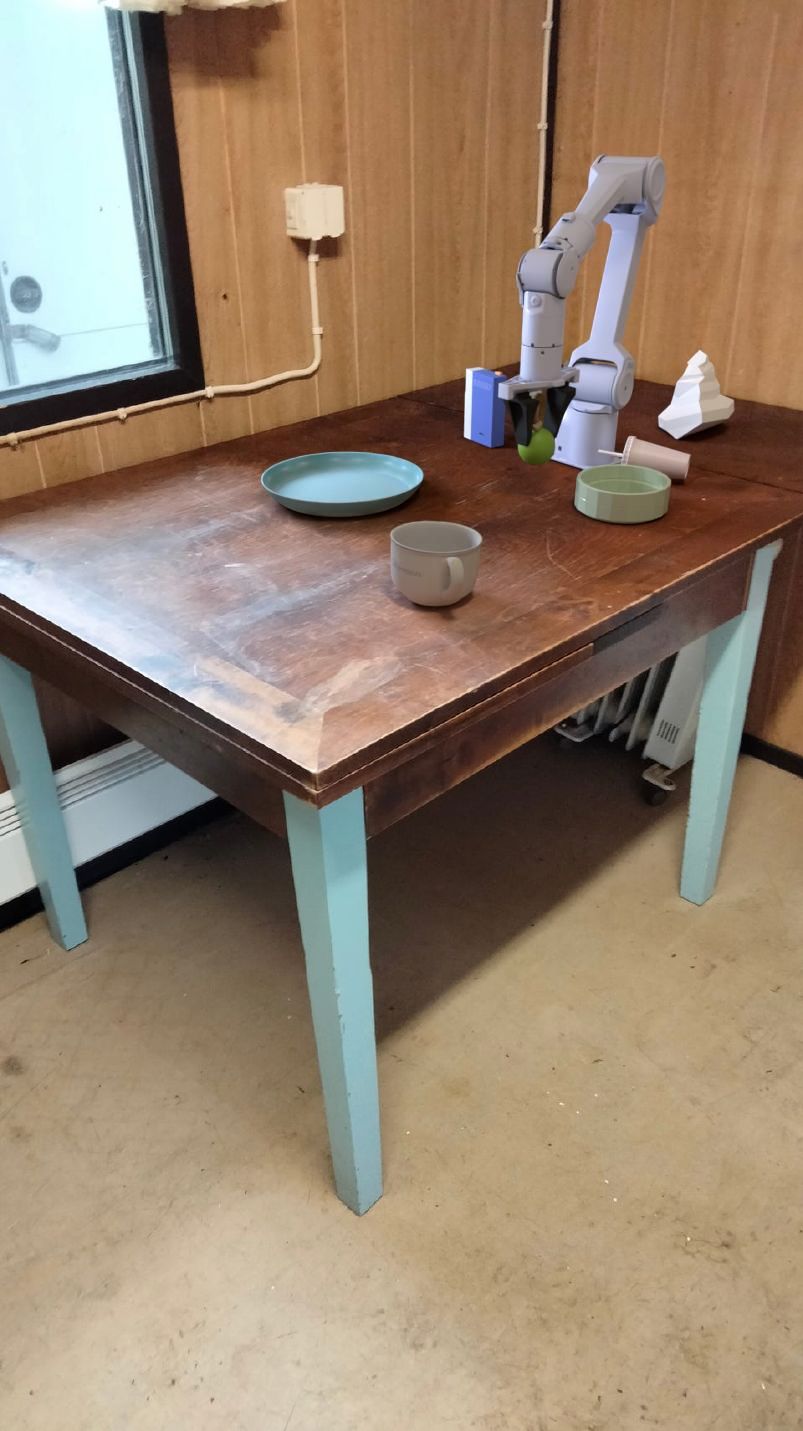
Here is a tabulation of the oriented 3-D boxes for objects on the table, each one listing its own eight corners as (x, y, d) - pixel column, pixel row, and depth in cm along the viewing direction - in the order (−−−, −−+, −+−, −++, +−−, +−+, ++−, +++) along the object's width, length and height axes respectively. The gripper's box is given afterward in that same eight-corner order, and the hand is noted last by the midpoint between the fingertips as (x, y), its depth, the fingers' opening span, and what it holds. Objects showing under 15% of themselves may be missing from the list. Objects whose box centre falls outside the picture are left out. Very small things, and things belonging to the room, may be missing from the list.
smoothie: (694, 444, 159) (605, 429, 163) (690, 446, 154) (598, 431, 158) (684, 486, 162) (597, 470, 166) (680, 489, 156) (590, 473, 160)
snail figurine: (559, 457, 154) (563, 375, 147) (550, 471, 149) (554, 387, 142) (523, 454, 155) (526, 373, 149) (513, 468, 150) (515, 385, 144)
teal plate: (456, 493, 156) (456, 472, 154) (341, 538, 141) (340, 515, 139) (344, 460, 170) (344, 440, 168) (229, 498, 155) (227, 476, 153)
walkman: (503, 445, 176) (507, 373, 170) (490, 448, 175) (493, 375, 169) (476, 434, 182) (478, 364, 176) (463, 436, 181) (465, 366, 174)
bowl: (555, 507, 151) (557, 477, 148) (614, 487, 158) (617, 458, 155) (626, 532, 142) (630, 501, 140) (685, 510, 149) (690, 480, 147)
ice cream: (640, 442, 182) (636, 357, 178) (688, 432, 192) (685, 352, 187) (702, 438, 173) (699, 349, 169) (749, 428, 182) (748, 343, 178)
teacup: (387, 579, 129) (386, 518, 125) (473, 576, 130) (475, 515, 126) (396, 629, 117) (396, 564, 113) (491, 625, 118) (493, 560, 114)
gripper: (526, 356, 136) (521, 457, 144) (599, 340, 144) (590, 436, 151) (489, 347, 141) (485, 445, 148) (561, 332, 149) (555, 426, 156)
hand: (536, 440), depth 150 cm, fingers closed on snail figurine, 5 cm apart
